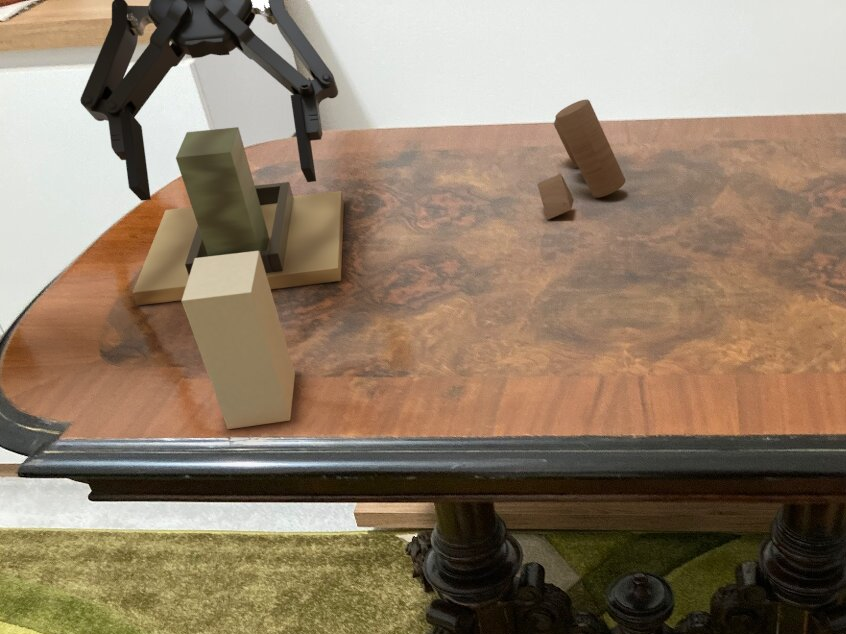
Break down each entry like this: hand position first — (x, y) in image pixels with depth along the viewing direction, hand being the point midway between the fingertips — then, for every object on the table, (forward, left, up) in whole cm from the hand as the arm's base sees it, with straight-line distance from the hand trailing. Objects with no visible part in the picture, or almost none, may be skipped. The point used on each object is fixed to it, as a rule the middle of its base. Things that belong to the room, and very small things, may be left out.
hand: (225, 185), depth 77 cm
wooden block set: (+30, +32, -15) cm, 46 cm away
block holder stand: (-7, +19, -15) cm, 25 cm away
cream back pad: (+2, -10, -15) cm, 18 cm away
